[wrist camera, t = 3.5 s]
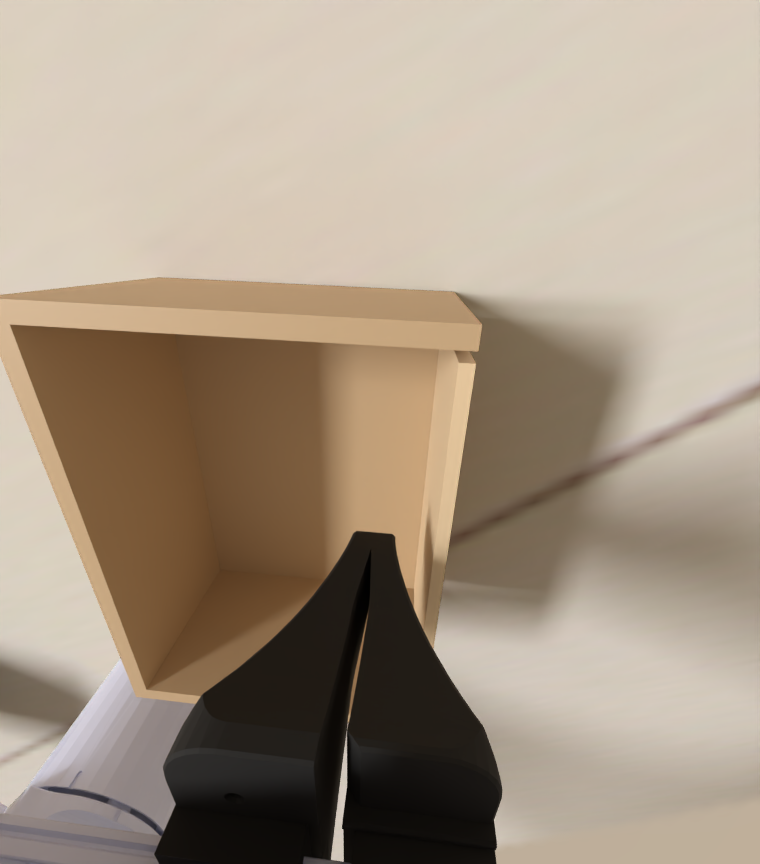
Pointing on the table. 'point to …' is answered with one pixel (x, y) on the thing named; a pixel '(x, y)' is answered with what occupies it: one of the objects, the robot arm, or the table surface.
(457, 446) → the flap
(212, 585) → the carton
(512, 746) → the table surface
